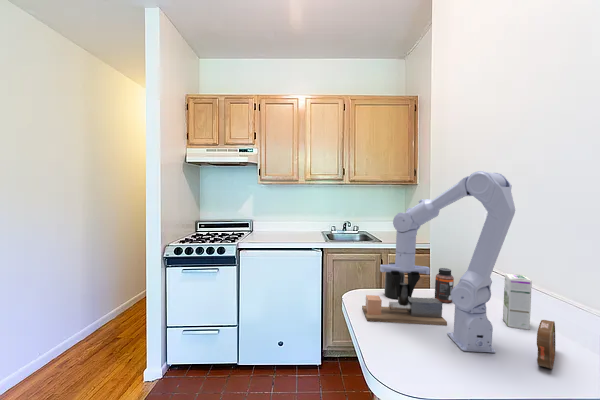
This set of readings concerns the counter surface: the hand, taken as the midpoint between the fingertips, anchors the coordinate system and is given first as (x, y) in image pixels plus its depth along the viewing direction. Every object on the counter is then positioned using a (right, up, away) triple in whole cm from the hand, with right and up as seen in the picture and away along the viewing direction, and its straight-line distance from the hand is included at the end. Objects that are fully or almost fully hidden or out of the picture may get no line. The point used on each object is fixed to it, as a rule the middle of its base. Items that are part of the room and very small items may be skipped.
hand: (403, 295), depth 100 cm
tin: (+26, -9, -23) cm, 36 cm away
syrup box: (+32, -8, -3) cm, 34 cm away
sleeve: (+6, -7, 0) cm, 9 cm away
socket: (-9, -6, +1) cm, 11 cm away
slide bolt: (+2, -5, 0) cm, 5 cm away
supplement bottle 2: (+20, -7, +16) cm, 26 cm away
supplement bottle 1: (+3, -6, +19) cm, 20 cm away
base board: (0, -6, 0) cm, 6 cm away
